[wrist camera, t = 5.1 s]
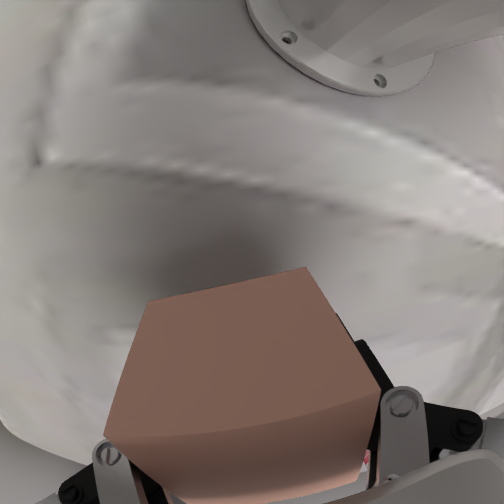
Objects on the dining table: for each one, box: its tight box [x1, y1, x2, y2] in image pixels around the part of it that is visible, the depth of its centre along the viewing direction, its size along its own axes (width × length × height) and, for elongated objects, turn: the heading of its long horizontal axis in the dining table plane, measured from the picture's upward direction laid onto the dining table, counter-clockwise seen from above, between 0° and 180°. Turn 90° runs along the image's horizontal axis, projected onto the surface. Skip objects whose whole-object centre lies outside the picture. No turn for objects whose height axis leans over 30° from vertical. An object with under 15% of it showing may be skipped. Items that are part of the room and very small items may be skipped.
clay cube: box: [103, 267, 381, 504], centre depth 9 cm, size 6×6×6 cm
